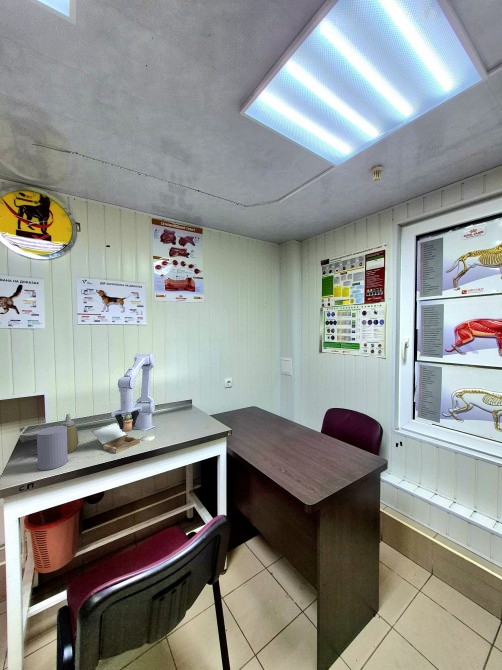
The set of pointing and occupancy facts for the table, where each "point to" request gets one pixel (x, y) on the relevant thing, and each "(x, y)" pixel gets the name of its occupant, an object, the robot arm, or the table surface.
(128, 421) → the clay pot
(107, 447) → the cold frame
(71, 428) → the squeeze bottle
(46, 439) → the container
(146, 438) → the saucer
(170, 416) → the table surface
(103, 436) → the lid
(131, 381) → the robot arm
